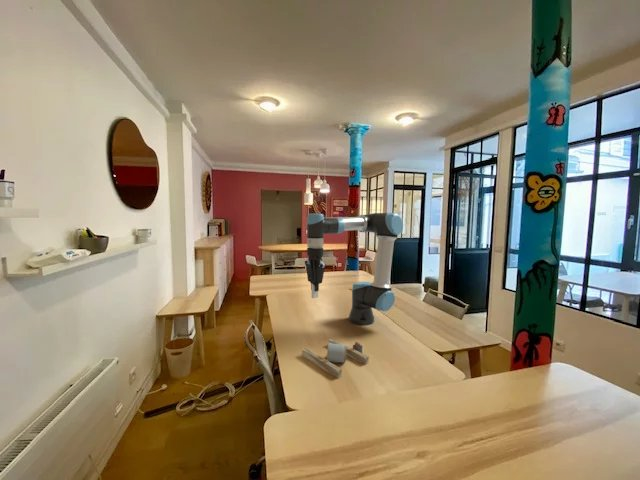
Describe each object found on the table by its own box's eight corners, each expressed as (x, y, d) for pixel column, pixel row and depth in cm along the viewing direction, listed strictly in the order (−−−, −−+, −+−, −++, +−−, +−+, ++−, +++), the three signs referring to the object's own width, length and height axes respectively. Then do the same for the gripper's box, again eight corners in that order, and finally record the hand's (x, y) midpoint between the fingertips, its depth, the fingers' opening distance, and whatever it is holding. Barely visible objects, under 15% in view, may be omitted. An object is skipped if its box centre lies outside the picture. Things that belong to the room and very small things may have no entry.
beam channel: (337, 342, 141) (337, 331, 140) (374, 360, 123) (374, 348, 123) (301, 355, 127) (302, 344, 126) (337, 378, 109) (338, 365, 109)
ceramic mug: (346, 366, 118) (346, 348, 118) (326, 365, 119) (327, 347, 118) (345, 354, 129) (345, 337, 128) (327, 353, 129) (327, 337, 129)
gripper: (300, 246, 133) (299, 295, 135) (318, 249, 123) (317, 302, 125) (312, 245, 138) (312, 293, 140) (330, 247, 128) (330, 299, 130)
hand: (314, 297), depth 132 cm, fingers closed
